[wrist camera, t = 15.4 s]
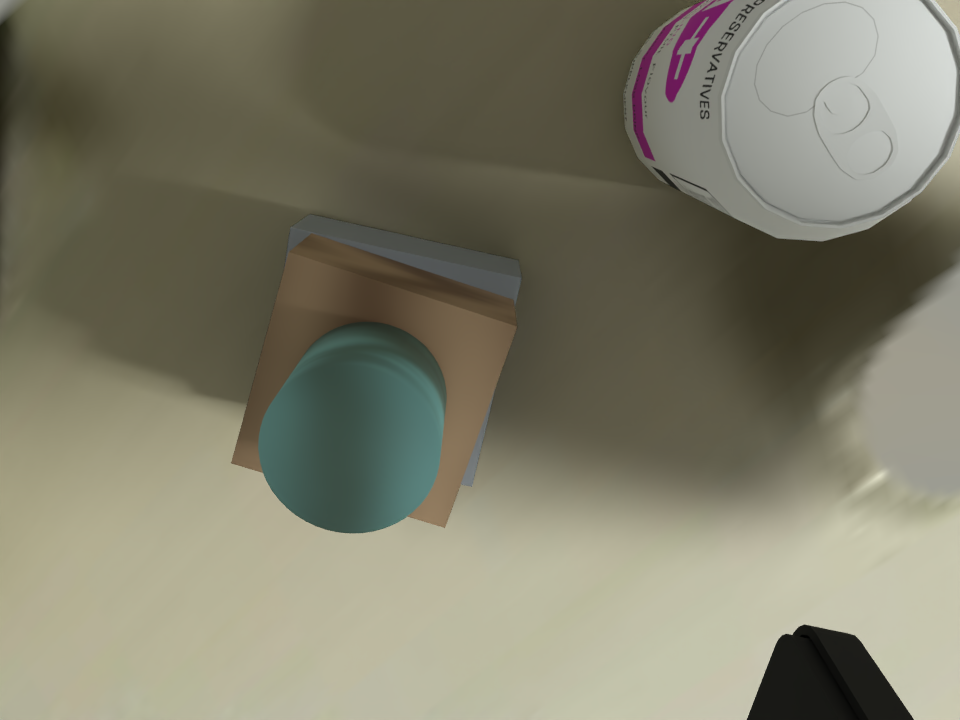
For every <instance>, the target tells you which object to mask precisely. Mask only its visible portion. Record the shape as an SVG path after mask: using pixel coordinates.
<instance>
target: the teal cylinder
mask: <svg viewBox="0 0 960 720" xmlns="http://www.w3.org/2000/svg"><path fill="white" fill-rule="evenodd" d="M446 401H447V394H446V385H445V380H444V377H443V374H442V371H441V368H440V366H439V364H438V362H437V361H436V359H435V358H434V356H433V355H432V353H431V352H430V351H429V350H428V349H427V347H426V346H425V345H424V344H423V343H421V342H420V341H419V340H418V339H417V338H415V337H414V336H412V335H411V334H409V333H408V332H406V331H404V330H402V329H400V328H397V327H394V326H391V325H388V324H383V323H378V322H357V323H350V324H346V325H343V326H340V327H337V328H335V329H333V330H331V331H329V332H327V333H326V334H324V335H322V336H321V337H320V338H319V339H318V340H316V341H315V342H314V343H313V344H312V345H311V346H310V347H309V348H308V350H307V351H306V353H305V354H304V355H303V357H302V358H301V360H300V361H299V363H298V364H297V366H296V367H295V369H294V370H293V372H292V373H291V375H290V376H289V378H288V379H287V380H286V382H285V383H284V385H283V386H282V388H281V389H280V391H279V392H278V394H277V395H276V397H275V398H274V400H273V401H272V403H271V404H270V406H269V407H268V409H267V411H266V413H265V415H264V418H263V421H262V424H261V427H260V433H259V442H258V451H259V459H260V463H261V467H262V471H263V473H264V476H265V478H266V481H267V483H268V484H269V486H270V488H271V489H272V491H273V492H274V494H275V495H276V496H277V498H278V499H279V500H280V501H281V502H282V503H283V504H284V505H285V506H286V507H287V508H288V509H289V510H290V511H291V512H293V513H294V514H295V515H297V516H298V517H300V518H301V519H303V520H305V521H306V522H308V523H311V524H313V525H315V526H317V527H320V528H323V529H326V530H330V531H335V532H341V533H365V532H372V531H376V530H380V529H383V528H386V527H389V526H391V525H393V524H396V523H397V522H399V521H401V520H403V519H404V518H406V517H407V516H408V515H410V514H411V513H412V512H413V511H414V510H415V509H416V508H417V507H418V506H420V505H421V503H422V502H423V501H424V499H425V498H426V497H427V496H428V494H429V492H430V490H431V488H432V487H433V484H434V482H435V479H436V477H437V473H438V469H439V464H440V455H441V446H442V438H443V429H444V420H445V411H446Z"/></svg>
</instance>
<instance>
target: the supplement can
mask: <svg viewBox="0 0 960 720" xmlns="http://www.w3.org/2000/svg"><path fill="white" fill-rule="evenodd" d="M623 102H624V121H625V129H626V132H627V134H628V136H629V139H630V141H631V144H632V146H633V148H634V151H635V153H636V155H637V158H638V159H639V160H640V161H641V162H642V163H643V164H644V165H645V166H646V167H647V168H648V169H649V170H650V171H651V172H652V173H653V174H654V175H655V176H656V177H657V179H658V180H660V181H662V182H664V183H666V184H668V185H670V186H672V187H674V188H676V189H678V190H680V191H682V192H684V193H686V194H688V195H690V196H692V197H694V198H696V199H697V200H699V201H701V202H703V203H705V204H707V205H709V206H711V207H713V208H715V209H717V210H719V211H721V212H723V213H725V214H727V215H729V216H731V217H733V218H735V219H737V220H739V221H742V222H744V223H746V224H748V225H750V226H752V227H754V228H756V229H759V230H761V231H763V232H765V233H767V234H769V235H771V236H774V237H776V238H782V239H796V240H809V241H826V240H830V239H833V238H837V237H841V236H844V235H848V234H852V233H855V232H859V231H863V230H866V229H869V228H871V227H872V226H874V225H875V224H877V223H878V222H880V221H881V220H883V219H884V218H886V217H887V216H889V215H890V214H892V213H893V212H895V211H896V210H898V209H900V208H901V207H903V206H904V205H906V204H907V203H909V202H910V201H911V200H912V198H914V197H915V196H917V195H918V194H920V193H921V192H922V191H923V190H924V188H925V187H926V186H927V185H928V184H929V182H930V181H931V180H932V179H933V177H934V176H935V175H936V174H937V173H938V171H939V170H940V169H941V168H942V166H943V165H944V164H945V163H946V162H947V160H948V159H949V158H950V156H951V153H952V151H953V148H954V146H955V144H956V141H957V139H958V136H959V134H960V36H959V33H958V29H957V27H956V26H955V25H954V23H953V22H952V21H951V20H950V18H949V17H948V16H947V15H946V13H945V12H944V11H943V10H942V8H941V7H940V6H939V5H938V4H937V2H936V1H935V0H705V1H702V2H700V3H698V4H695V5H693V6H691V7H688V8H686V9H684V10H681V11H680V12H678V13H677V14H676V15H674V16H673V17H672V18H670V19H669V20H668V21H666V22H665V23H664V24H662V25H661V26H660V27H658V28H657V29H656V30H654V31H653V32H652V33H651V35H650V36H649V38H648V39H647V41H646V42H645V44H644V45H643V46H642V48H641V49H640V51H639V52H638V54H637V55H636V57H635V58H634V59H633V61H632V65H631V68H630V72H629V75H628V79H627V82H626V86H625V89H624V93H623Z"/></svg>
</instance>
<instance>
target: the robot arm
mask: <svg viewBox="0 0 960 720" xmlns="http://www.w3.org/2000/svg"><path fill="white" fill-rule="evenodd" d="M747 720H914V719H913V718H912V716H911V715H910V713H909V712H908V710H907V709H906V707H905V706H904V704H903V703H902V701H901V700H900V698H899V697H898V696H897V694H896V693H895V691H894V690H893V688H892V687H891V685H890V684H889V682H888V681H887V679H886V678H885V676H884V675H883V674H882V672H881V671H880V669H879V668H878V666H877V665H876V663H875V662H874V660H873V659H872V657H871V656H870V654H869V653H868V652H867V650H866V649H865V647H864V646H863V644H862V643H861V641H860V640H859V639H858V638H857V637H856V636H855V635H851V634H847V633H843V632H838V631H833V630H828V629H823V628H819V627H814V626H809V625H802V626H800V627H798V628H797V630H796V631H795V632H794V633H793V635H789V634H785V635H782V636H781V637H780V638H779V640H778V641H777V643H776V645H775V648H774V651H773V653H772V656H771V658H770V661H769V664H768V666H767V669H766V671H765V674H764V677H763V679H762V682H761V684H760V687H759V690H758V692H757V695H756V697H755V700H754V703H753V705H752V708H751V710H750V713H749V716H748V718H747Z"/></svg>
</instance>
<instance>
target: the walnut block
mask: <svg viewBox="0 0 960 720" xmlns="http://www.w3.org/2000/svg"><path fill="white" fill-rule="evenodd" d="M357 322H378V323H383V324H388V325H391V326H394V327H397V328H400V329H402V330H404V331H406V332H408V333H409V334H411V335H412V336H414V337H415V338H417V339H418V340H419V341H420V342H421V343H423V344H424V345H425V346H426V347H427V349H428V350H429V351H430V352H431V353H432V355H433V356H434V358H435V359H436V361H437V362H438V364H439V366H440V368H441V371H442V374H443V377H444V380H445V385H446V394H447V401H446V411H445V420H444V429H443V438H442V446H441V455H440V464H439V469H438V473H437V477H436V479H435V482H434V484H433V487H432V488H431V490H430V492H429V494H428V496H427V497H426V498H425V499H424V501H423V502H422V503H421V505H420V506H418V507H417V508H416V509H415V510H414V511H413V512H412V513H411V514H410V515H408V516H407V517H411V518H414V519H417V520H421V521H424V522H427V523H431V524H434V525H437V526H441V527H444V528H445V526H446V524H447V521H448V518H449V515H450V513H451V510H452V507H453V504H454V501H455V499H456V496H457V493H458V490H459V488H460V485H461V482H462V479H463V476H464V474H465V471H466V468H467V465H468V463H469V460H470V457H471V454H472V452H473V449H474V446H475V443H476V440H477V438H478V435H479V432H480V429H481V427H482V424H483V421H484V418H485V415H486V413H487V410H488V407H489V404H490V402H491V399H492V396H493V393H494V390H495V388H496V385H497V382H498V379H499V377H500V374H501V371H502V368H503V366H504V363H505V360H506V357H507V354H508V352H509V349H510V346H511V343H512V341H513V338H514V335H515V332H516V329H517V320H516V313H515V306H514V300H513V299H510V298H507V297H504V296H501V295H498V294H495V293H492V292H489V291H486V290H483V289H480V288H476V287H473V286H470V285H467V284H464V283H461V282H458V281H455V280H452V279H449V278H446V277H443V276H440V275H437V274H434V273H431V272H428V271H425V270H422V269H419V268H416V267H413V266H410V265H407V264H404V263H401V262H398V261H395V260H392V259H389V258H386V257H382V256H379V255H376V254H373V253H370V252H367V251H364V250H361V249H358V248H355V247H352V246H349V245H346V244H343V243H340V242H337V241H334V240H331V239H328V238H325V237H322V236H319V235H316V234H313V233H311V234H310V235H309V236H308V237H306V238H305V239H304V240H303V241H302V242H300V243H299V244H298V245H297V246H295V247H294V248H293V249H292V250H291V251H289V253H288V257H287V260H286V264H285V268H284V271H283V275H282V279H281V282H280V286H279V290H278V293H277V297H276V301H275V304H274V308H273V312H272V315H271V319H270V323H269V326H268V330H267V334H266V337H265V341H264V345H263V348H262V352H261V356H260V359H259V363H258V367H257V370H256V374H255V378H254V381H253V385H252V389H251V392H250V396H249V400H248V403H247V407H246V411H245V414H244V418H243V422H242V425H241V429H240V433H239V436H238V440H237V444H236V447H235V451H234V455H233V458H232V462H231V463H232V464H236V465H239V466H242V467H245V468H249V469H252V470H255V471H259V472H262V473H263V471H262V467H261V463H260V459H259V451H258V442H259V433H260V427H261V424H262V421H263V418H264V415H265V413H266V411H267V409H268V407H269V406H270V404H271V403H272V401H273V400H274V398H275V397H276V395H277V394H278V392H279V391H280V389H281V388H282V386H283V385H284V383H285V382H286V380H287V379H288V378H289V376H290V375H291V373H292V372H293V370H294V369H295V367H296V366H297V364H298V363H299V361H300V360H301V358H302V357H303V355H304V354H305V353H306V351H307V350H308V348H309V347H310V346H311V345H312V344H313V343H314V342H315V341H316V340H318V339H319V338H320V337H321V336H322V335H324V334H326V333H327V332H329V331H331V330H333V329H335V328H337V327H340V326H343V325H346V324H350V323H357Z"/></svg>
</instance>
